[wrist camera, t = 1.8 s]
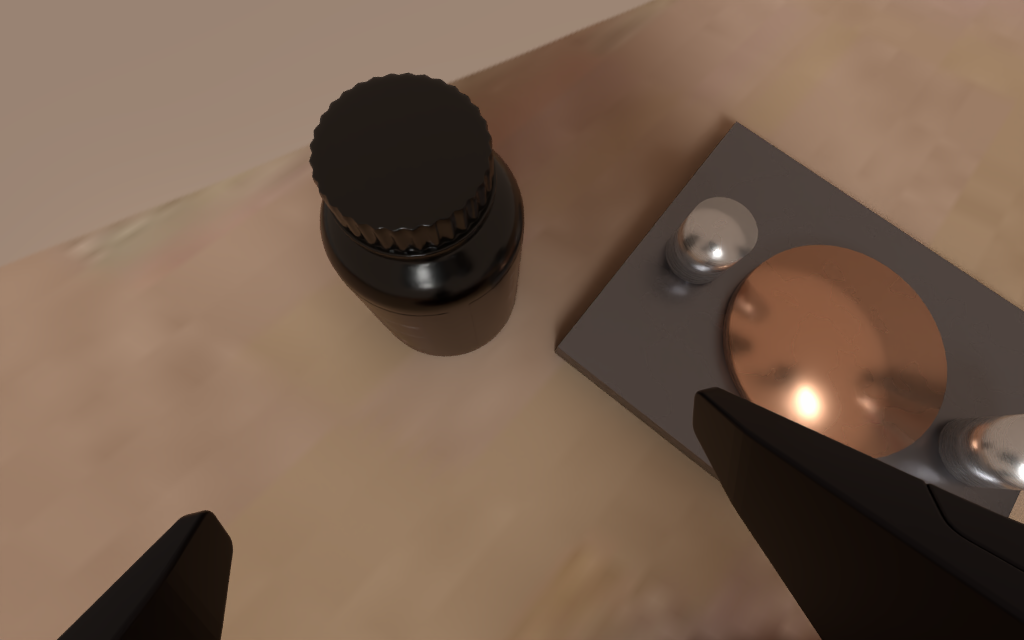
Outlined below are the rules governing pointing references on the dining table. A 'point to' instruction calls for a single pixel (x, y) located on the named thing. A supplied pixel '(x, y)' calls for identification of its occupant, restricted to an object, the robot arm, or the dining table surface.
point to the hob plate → (811, 327)
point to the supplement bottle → (419, 211)
